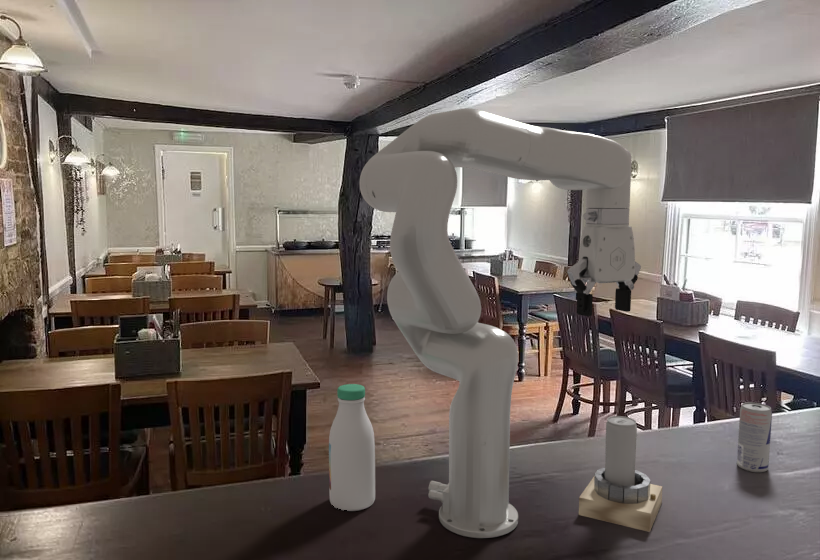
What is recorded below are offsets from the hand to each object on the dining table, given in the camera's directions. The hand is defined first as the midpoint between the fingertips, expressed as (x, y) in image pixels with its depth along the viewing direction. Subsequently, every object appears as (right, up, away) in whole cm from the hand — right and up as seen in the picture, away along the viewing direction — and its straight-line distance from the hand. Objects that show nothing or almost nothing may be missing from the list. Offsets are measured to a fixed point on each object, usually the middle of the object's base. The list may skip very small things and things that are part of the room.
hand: (603, 312), depth 118 cm
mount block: (0, -32, -11) cm, 34 cm away
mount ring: (0, -29, -11) cm, 31 cm away
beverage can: (-1, -29, -11) cm, 31 cm away
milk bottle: (-45, -32, -8) cm, 56 cm away
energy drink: (+30, -30, +6) cm, 43 cm away
